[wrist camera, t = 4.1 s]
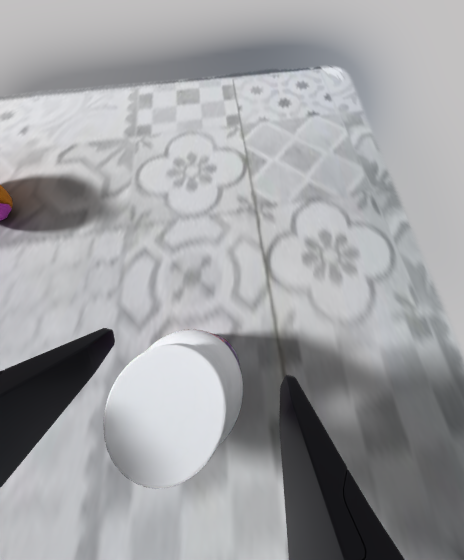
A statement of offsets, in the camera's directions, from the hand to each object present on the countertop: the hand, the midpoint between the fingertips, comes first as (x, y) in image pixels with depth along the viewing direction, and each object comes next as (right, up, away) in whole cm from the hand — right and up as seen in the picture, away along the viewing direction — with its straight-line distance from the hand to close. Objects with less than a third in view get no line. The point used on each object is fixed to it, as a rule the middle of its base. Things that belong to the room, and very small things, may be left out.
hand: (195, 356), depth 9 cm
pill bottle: (0, -3, +6) cm, 7 cm away
